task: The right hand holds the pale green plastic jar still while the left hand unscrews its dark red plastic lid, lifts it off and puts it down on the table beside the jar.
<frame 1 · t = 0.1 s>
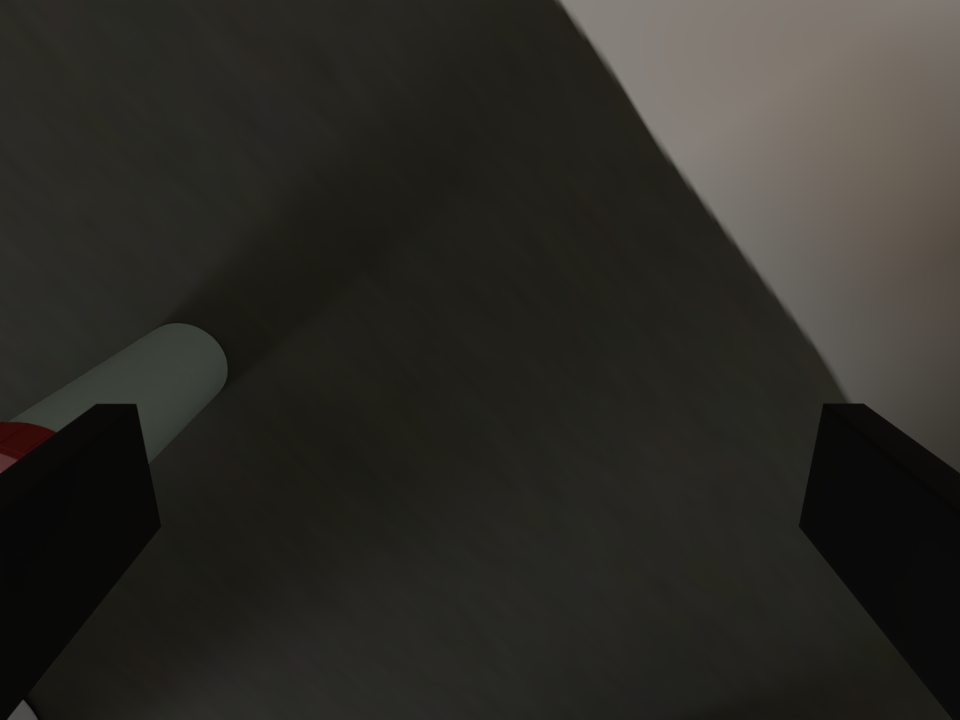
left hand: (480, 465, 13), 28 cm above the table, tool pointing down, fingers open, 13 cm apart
jar: (184, 364, 42), on the table
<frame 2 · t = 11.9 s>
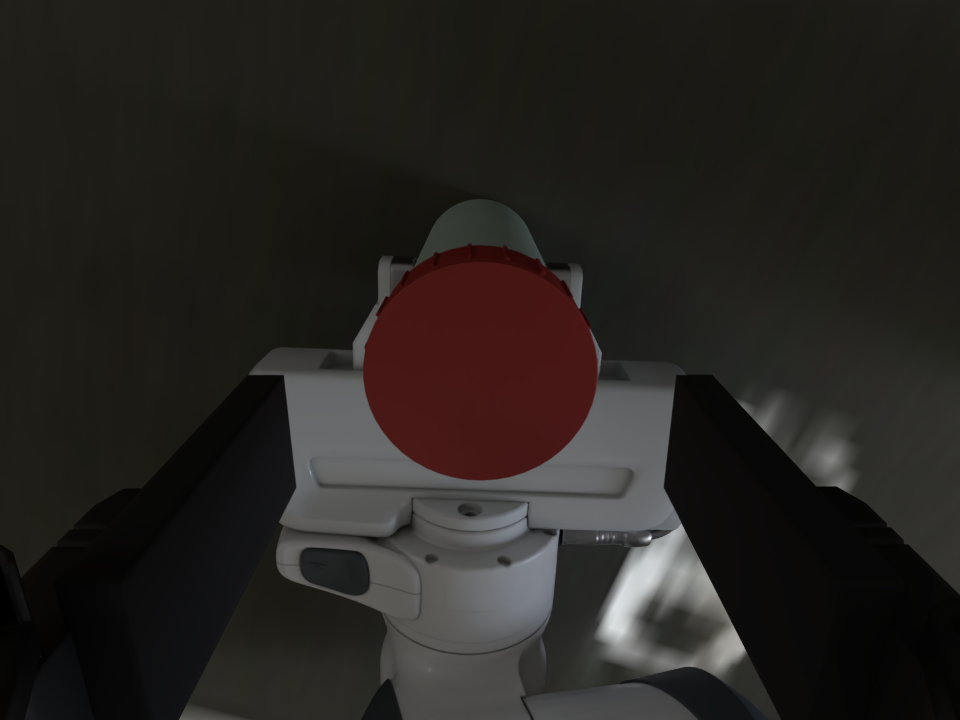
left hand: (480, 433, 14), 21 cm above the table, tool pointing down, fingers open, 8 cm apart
right hand: (479, 261, 27), fingers closed on jar, 5 cm apart
lid: (480, 373, 17), point 17 cm above the table, screwed on, not yet turned
jar: (479, 254, 33), on the table, touching right hand
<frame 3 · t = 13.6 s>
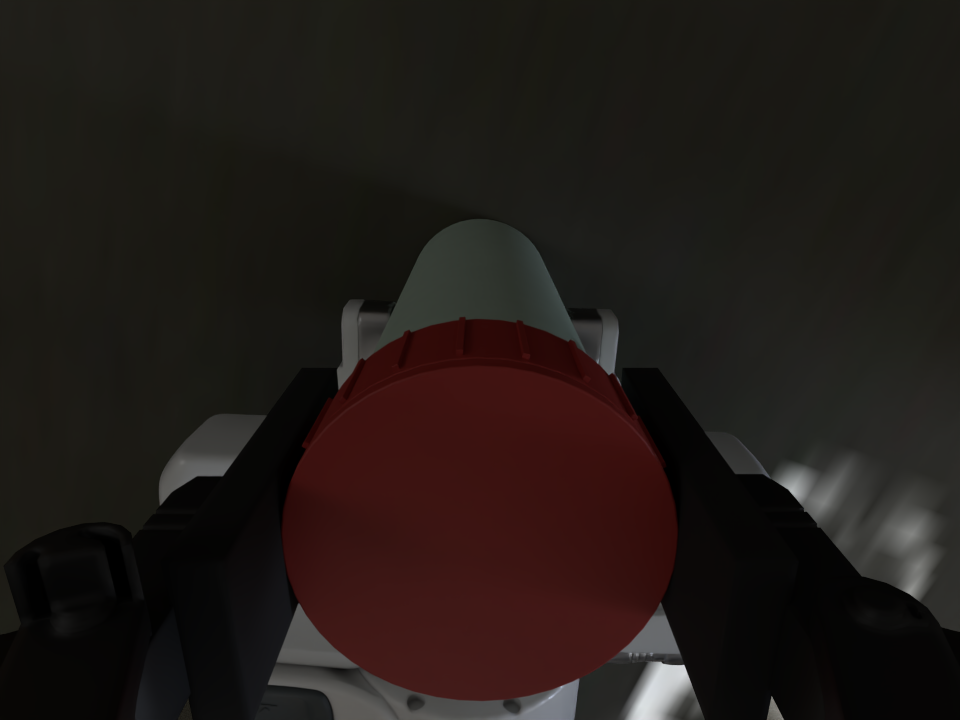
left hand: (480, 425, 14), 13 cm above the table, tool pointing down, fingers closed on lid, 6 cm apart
lid: (479, 538, 10), point 17 cm above the table, screwed on, not yet turned, touching left hand
jar: (479, 287, 26), on the table, touching right hand
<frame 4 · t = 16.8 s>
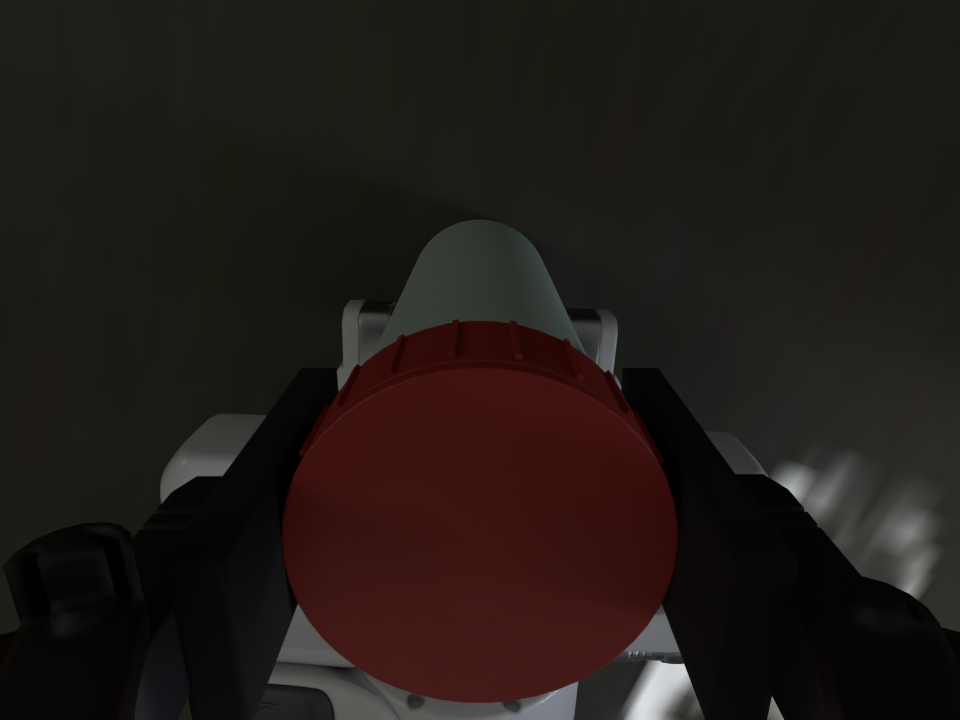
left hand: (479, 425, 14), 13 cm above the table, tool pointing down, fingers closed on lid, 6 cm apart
lid: (479, 540, 10), point 17 cm above the table, turned 92° so far, risen 0.1 cm, still on its thread, touching left hand
jar: (479, 287, 27), on the table, touching right hand
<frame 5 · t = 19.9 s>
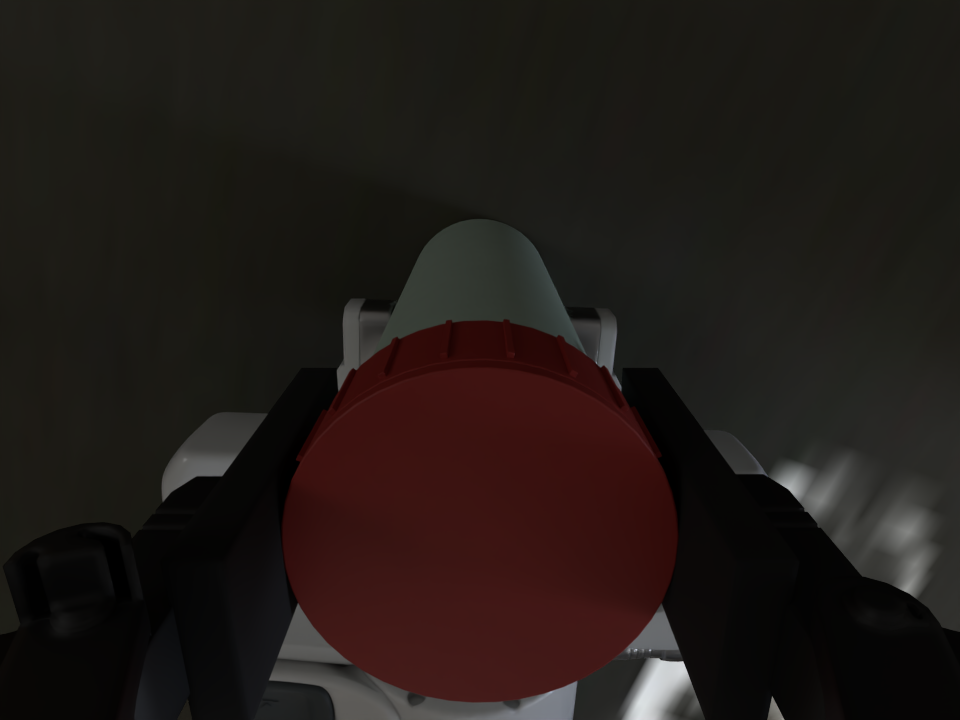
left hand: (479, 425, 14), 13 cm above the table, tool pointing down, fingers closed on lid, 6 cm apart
lid: (479, 539, 10), point 17 cm above the table, turned 184° so far, risen 0.2 cm, still on its thread, touching left hand
jar: (479, 286, 27), on the table, touching right hand
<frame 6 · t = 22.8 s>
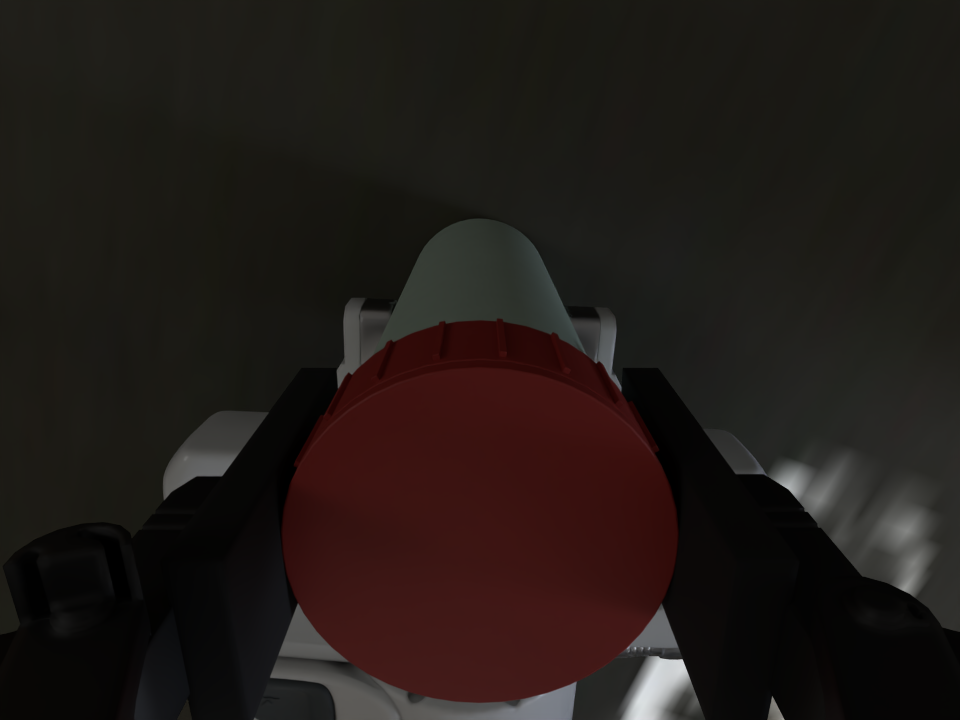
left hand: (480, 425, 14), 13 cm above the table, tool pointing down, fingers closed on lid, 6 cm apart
lid: (479, 540, 10), point 17 cm above the table, turned 276° so far, risen 0.3 cm, still on its thread, touching left hand
jar: (479, 286, 27), on the table, touching right hand
when the left hand's fingers open (0 cm above the table, at t = 29.7 s): lid drops 2 cm, point 2 cm above the table.
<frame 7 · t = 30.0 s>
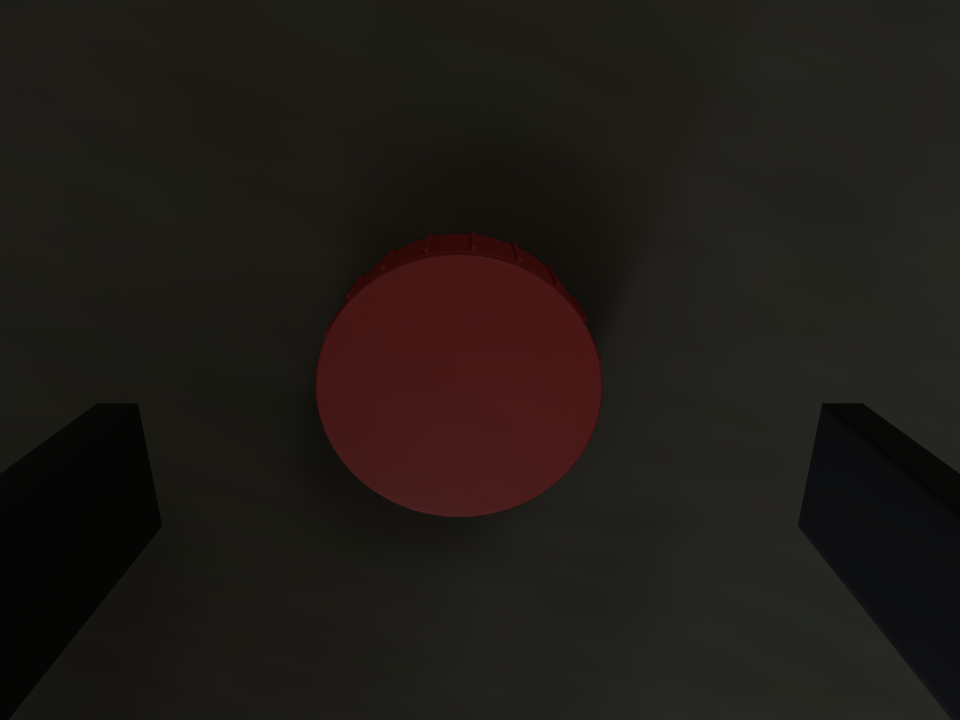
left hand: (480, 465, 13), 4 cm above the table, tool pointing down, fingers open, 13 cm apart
lid: (459, 390, 14), point 2 cm above the table, off its thread
when the right hand's fingers open (6 cm above the table, at t = 30.4 s): jar stays where it is, on the table.
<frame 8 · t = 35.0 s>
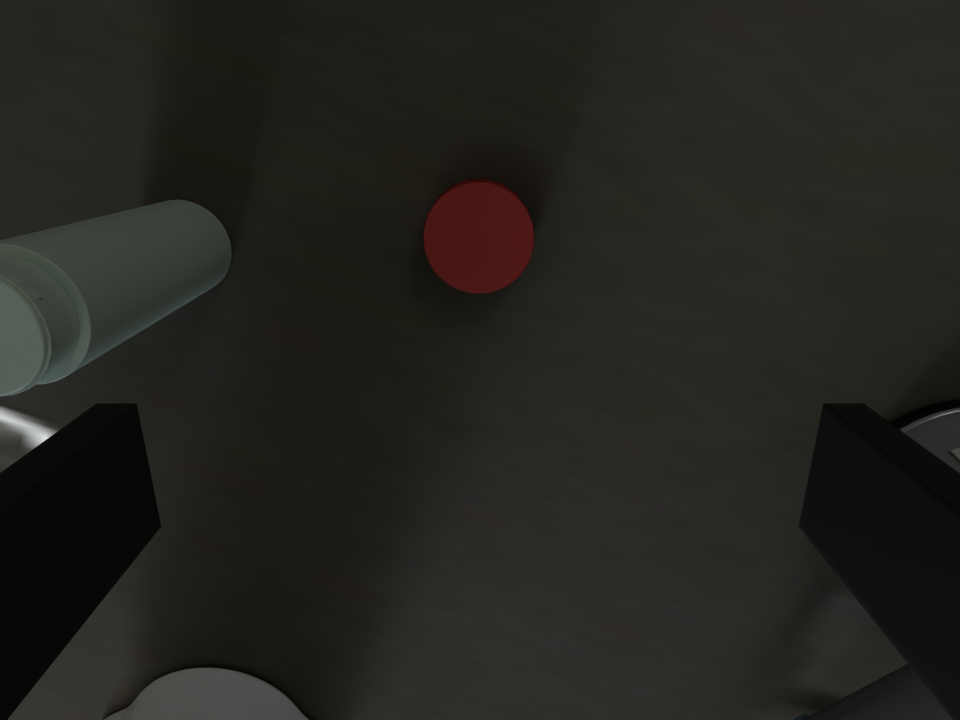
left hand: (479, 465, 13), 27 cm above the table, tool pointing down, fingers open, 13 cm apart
lid: (478, 238, 36), point 2 cm above the table, off its thread
jar: (185, 247, 38), on the table
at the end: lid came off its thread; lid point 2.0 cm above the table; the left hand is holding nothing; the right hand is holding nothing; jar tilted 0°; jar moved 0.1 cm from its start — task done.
